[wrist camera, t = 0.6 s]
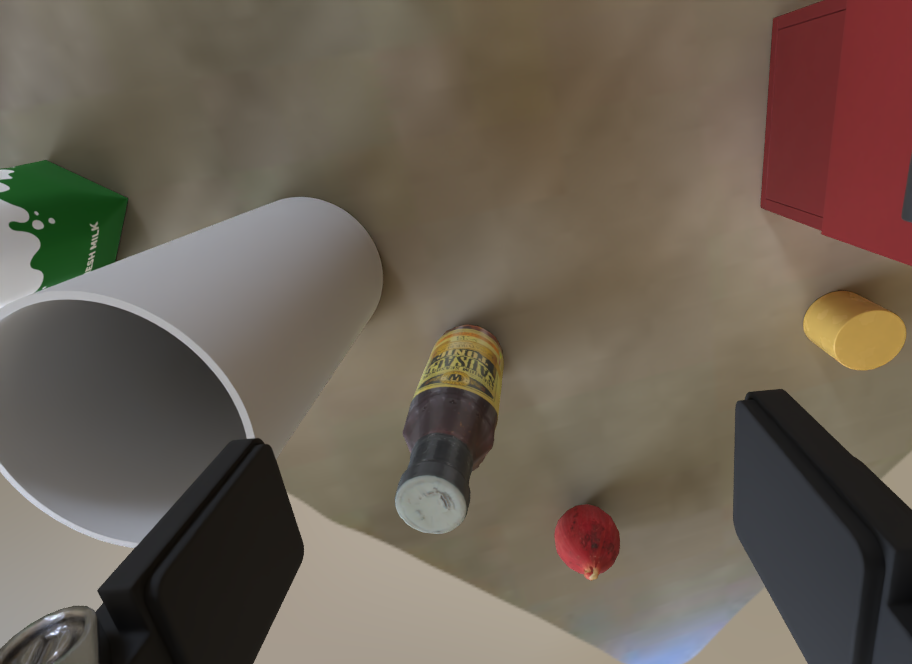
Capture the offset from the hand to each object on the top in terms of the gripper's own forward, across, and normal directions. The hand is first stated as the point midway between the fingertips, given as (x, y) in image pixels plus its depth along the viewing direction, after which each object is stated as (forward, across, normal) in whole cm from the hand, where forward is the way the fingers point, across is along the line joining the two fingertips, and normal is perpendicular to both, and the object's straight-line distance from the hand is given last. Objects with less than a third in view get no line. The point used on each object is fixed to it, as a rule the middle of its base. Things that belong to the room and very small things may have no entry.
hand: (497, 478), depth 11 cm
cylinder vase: (+34, +17, +2) cm, 38 cm away
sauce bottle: (+34, +5, +11) cm, 36 cm away
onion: (+35, -4, +30) cm, 46 cm away
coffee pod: (+34, -25, +12) cm, 44 cm away
